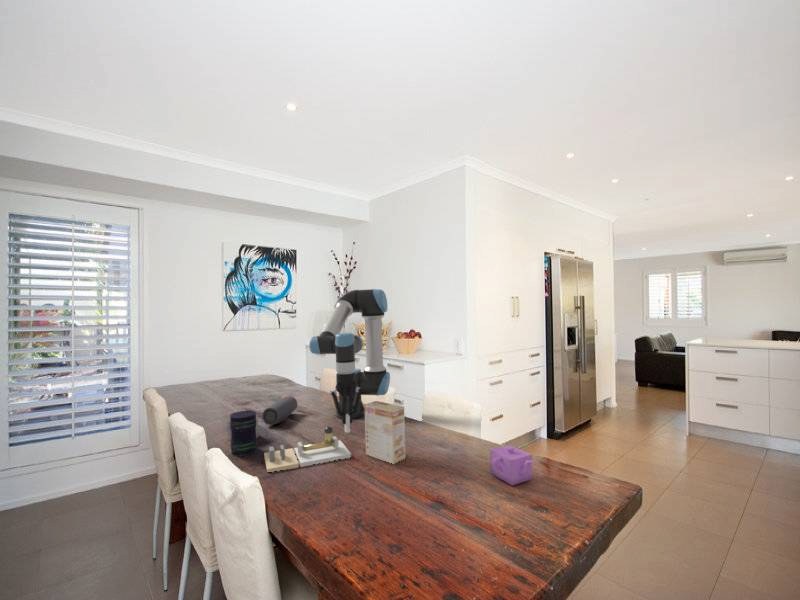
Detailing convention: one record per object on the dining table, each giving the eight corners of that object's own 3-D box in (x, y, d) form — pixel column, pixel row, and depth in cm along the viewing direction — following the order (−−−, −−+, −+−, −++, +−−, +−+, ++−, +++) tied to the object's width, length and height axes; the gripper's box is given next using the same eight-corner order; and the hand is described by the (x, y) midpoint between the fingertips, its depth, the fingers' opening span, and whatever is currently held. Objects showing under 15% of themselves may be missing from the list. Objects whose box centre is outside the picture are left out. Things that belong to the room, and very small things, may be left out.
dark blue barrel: (248, 456, 152) (246, 418, 152) (225, 455, 154) (224, 417, 154) (262, 447, 162) (261, 410, 162) (240, 445, 164) (239, 410, 164)
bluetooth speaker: (282, 413, 210) (281, 394, 210) (298, 413, 209) (298, 395, 209) (261, 427, 187) (260, 406, 187) (279, 427, 186) (279, 406, 186)
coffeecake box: (406, 458, 146) (404, 406, 146) (393, 465, 141) (391, 410, 141) (378, 449, 156) (377, 400, 156) (365, 454, 151) (363, 404, 151)
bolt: (336, 444, 156) (336, 424, 156) (338, 446, 153) (338, 426, 153) (298, 450, 150) (297, 430, 150) (299, 453, 147) (299, 432, 147)
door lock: (340, 443, 163) (340, 430, 163) (350, 457, 148) (350, 443, 148) (264, 456, 151) (263, 442, 151) (267, 473, 137) (267, 457, 137)
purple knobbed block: (549, 486, 122) (548, 453, 122) (515, 497, 116) (514, 463, 116) (508, 465, 138) (507, 436, 138) (476, 474, 132) (476, 444, 132)
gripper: (358, 369, 162) (360, 426, 162) (327, 372, 157) (329, 431, 157) (364, 372, 155) (365, 431, 155) (331, 375, 150) (333, 437, 150)
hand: (347, 431), depth 156 cm, fingers closed
